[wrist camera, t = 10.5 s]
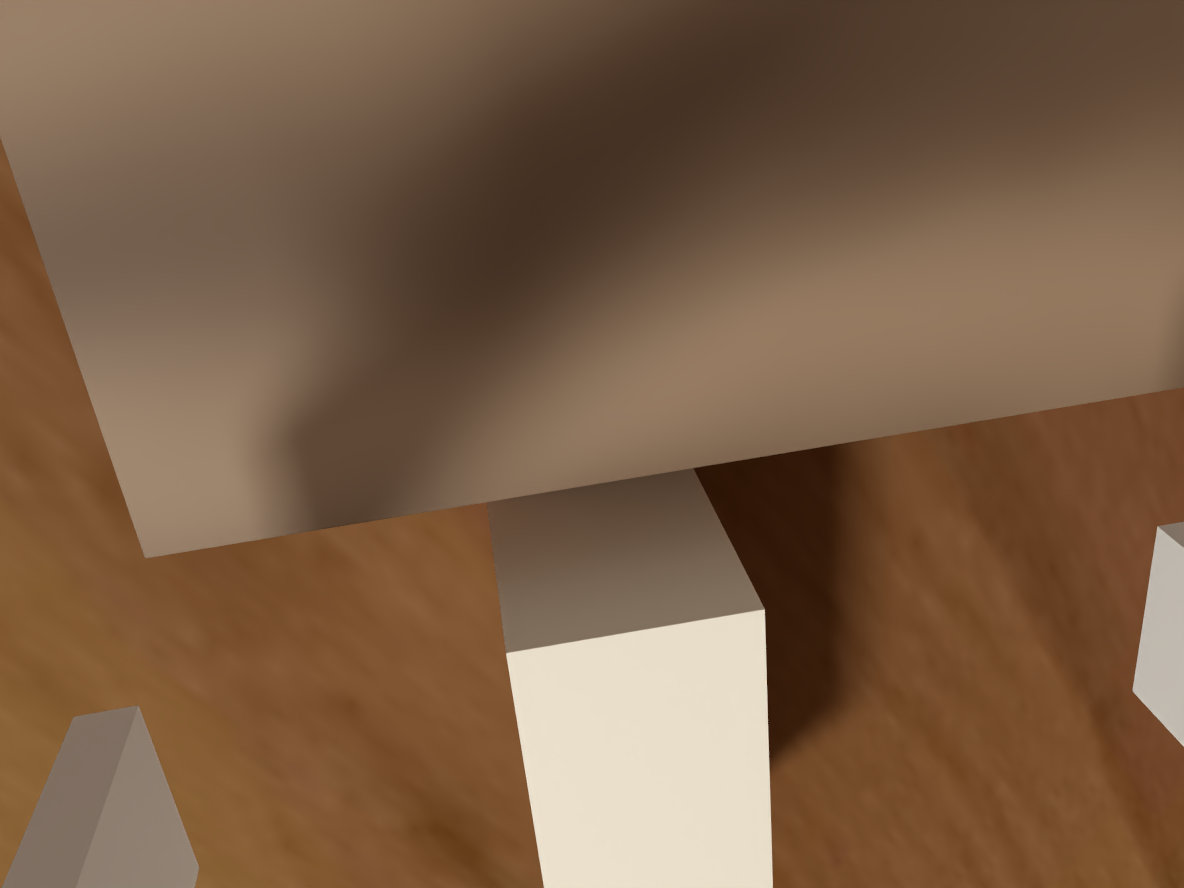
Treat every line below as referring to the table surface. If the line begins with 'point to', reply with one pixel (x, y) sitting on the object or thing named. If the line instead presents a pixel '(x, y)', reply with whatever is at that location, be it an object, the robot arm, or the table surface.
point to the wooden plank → (582, 234)
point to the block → (636, 685)
